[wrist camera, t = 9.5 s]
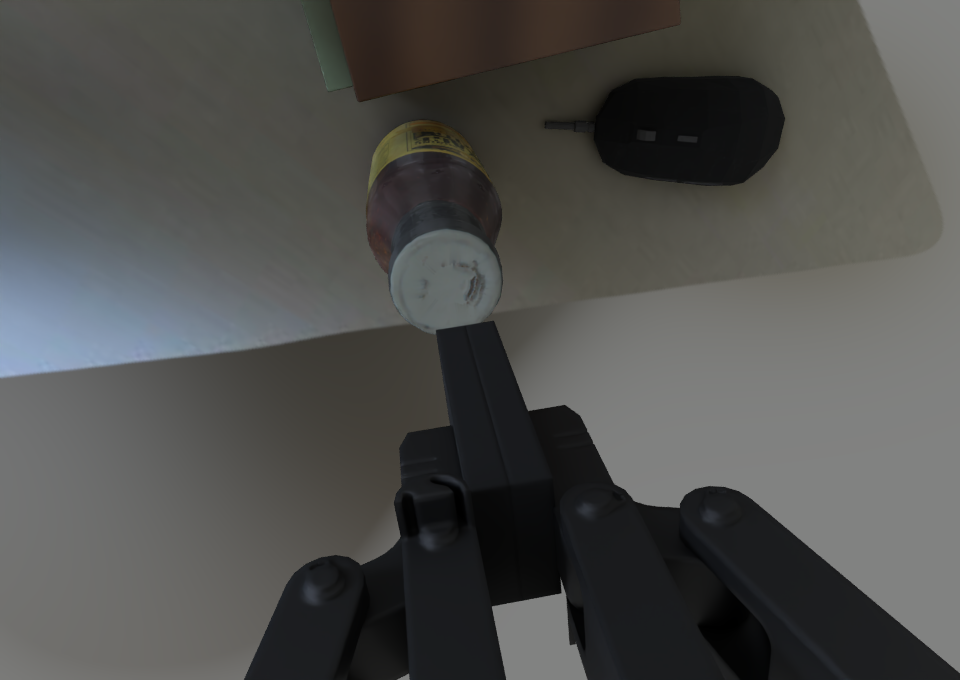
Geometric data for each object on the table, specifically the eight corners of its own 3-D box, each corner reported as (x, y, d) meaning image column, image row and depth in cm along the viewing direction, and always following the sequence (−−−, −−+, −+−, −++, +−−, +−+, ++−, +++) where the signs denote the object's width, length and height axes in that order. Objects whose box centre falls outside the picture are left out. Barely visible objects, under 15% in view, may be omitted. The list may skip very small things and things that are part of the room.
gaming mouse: (549, 68, 41) (566, 75, 37) (785, 77, 43) (822, 85, 39) (539, 177, 44) (555, 193, 40) (762, 180, 46) (795, 196, 42)
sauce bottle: (494, 164, 43) (585, 286, 25) (426, 239, 44) (465, 403, 27) (414, 87, 40) (451, 162, 23) (343, 169, 42) (327, 299, 24)
